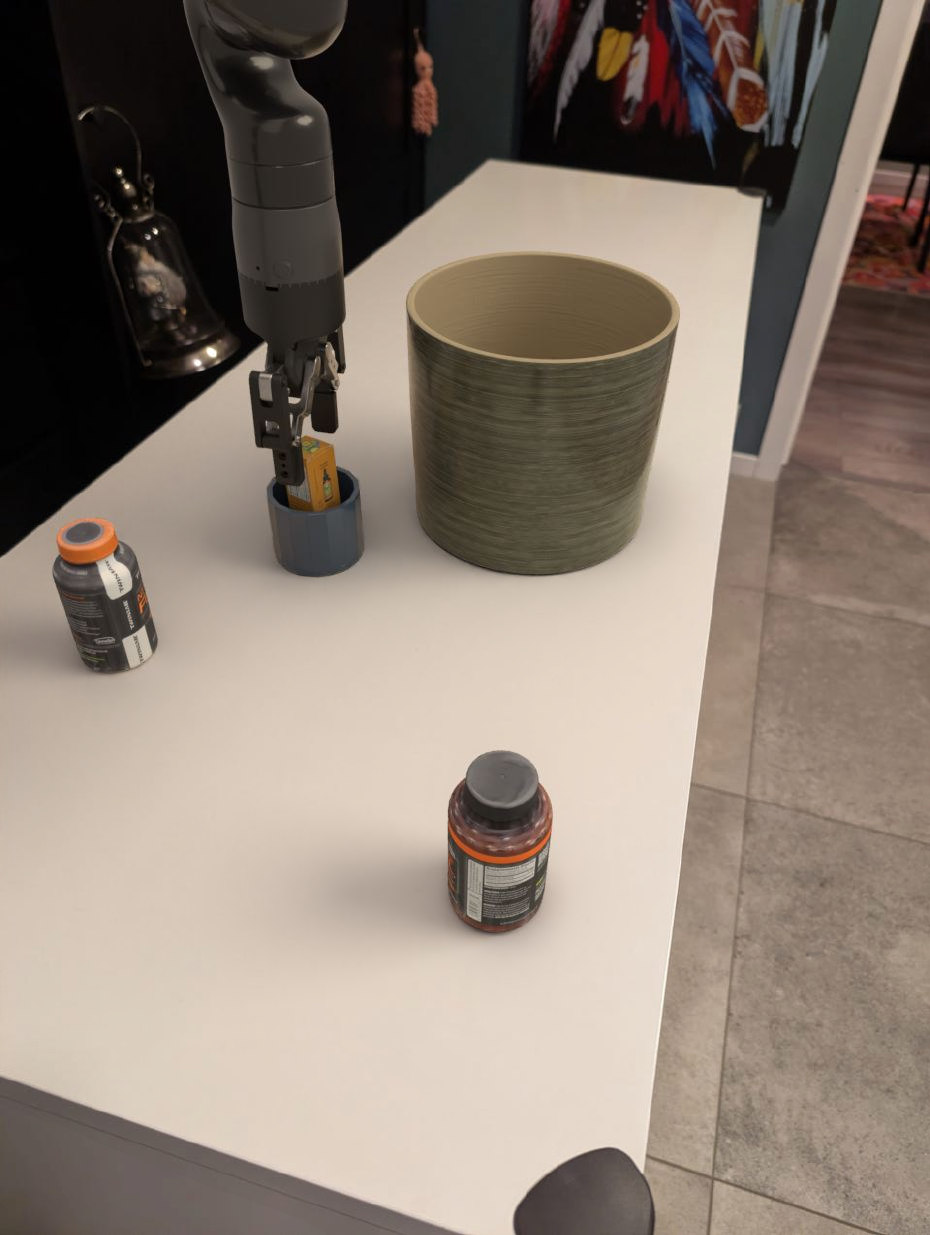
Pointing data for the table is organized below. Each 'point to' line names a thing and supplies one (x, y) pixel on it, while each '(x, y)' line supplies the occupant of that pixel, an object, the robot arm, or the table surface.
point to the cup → (317, 530)
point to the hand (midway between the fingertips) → (308, 456)
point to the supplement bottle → (498, 842)
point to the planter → (536, 405)
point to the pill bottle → (103, 596)
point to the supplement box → (316, 478)
